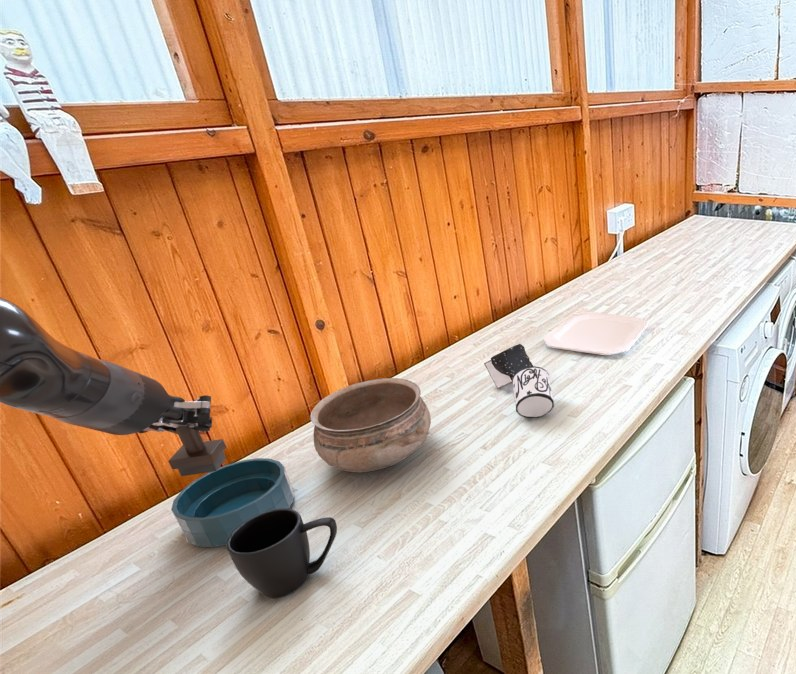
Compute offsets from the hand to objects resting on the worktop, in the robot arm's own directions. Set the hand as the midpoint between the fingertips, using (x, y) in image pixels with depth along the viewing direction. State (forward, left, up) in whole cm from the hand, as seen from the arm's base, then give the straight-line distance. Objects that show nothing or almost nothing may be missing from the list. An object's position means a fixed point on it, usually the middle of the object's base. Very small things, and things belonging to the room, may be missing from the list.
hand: (196, 426), depth 77 cm
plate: (+68, +51, -17) cm, 87 cm away
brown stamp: (0, -2, -6) cm, 6 cm away
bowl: (+1, -1, -17) cm, 17 cm away
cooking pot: (+20, +9, -17) cm, 28 cm away
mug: (+14, -17, -17) cm, 28 cm away
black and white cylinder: (+46, +23, -17) cm, 55 cm away
